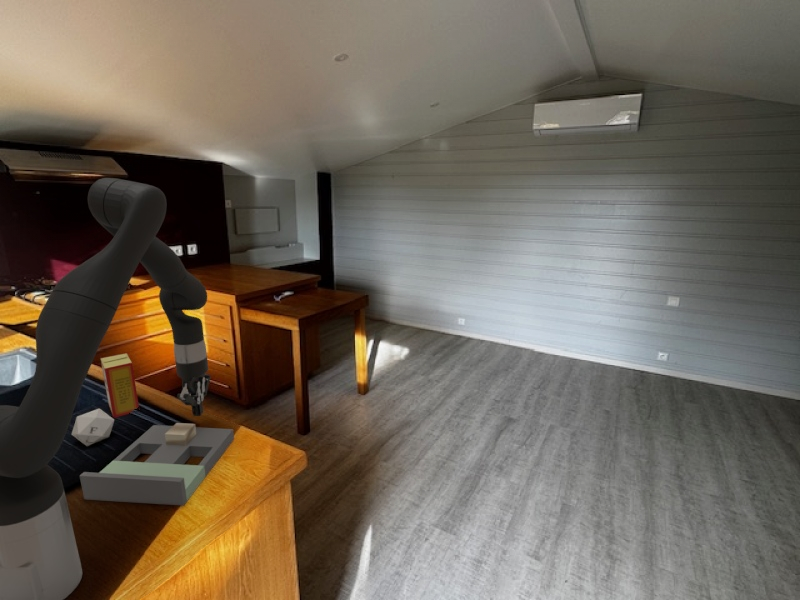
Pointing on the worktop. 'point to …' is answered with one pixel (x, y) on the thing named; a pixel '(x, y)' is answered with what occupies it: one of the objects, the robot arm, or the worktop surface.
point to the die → (92, 427)
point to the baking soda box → (119, 384)
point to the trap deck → (157, 468)
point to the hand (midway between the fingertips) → (198, 414)
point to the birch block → (180, 434)
